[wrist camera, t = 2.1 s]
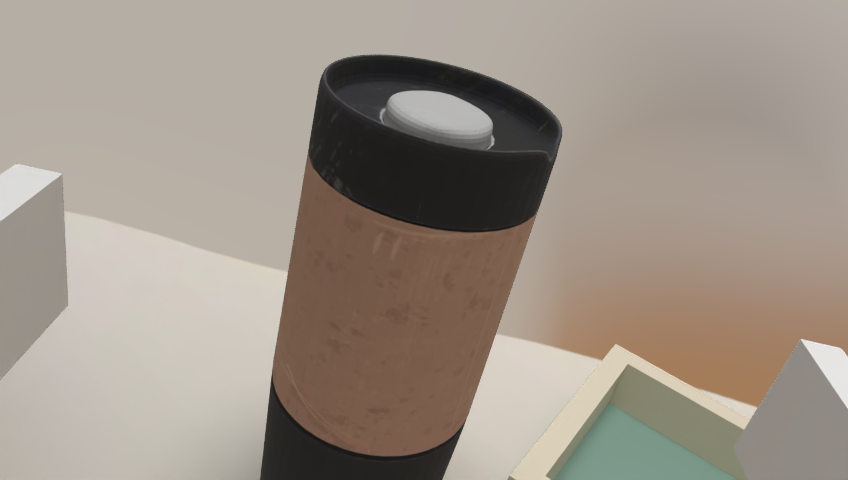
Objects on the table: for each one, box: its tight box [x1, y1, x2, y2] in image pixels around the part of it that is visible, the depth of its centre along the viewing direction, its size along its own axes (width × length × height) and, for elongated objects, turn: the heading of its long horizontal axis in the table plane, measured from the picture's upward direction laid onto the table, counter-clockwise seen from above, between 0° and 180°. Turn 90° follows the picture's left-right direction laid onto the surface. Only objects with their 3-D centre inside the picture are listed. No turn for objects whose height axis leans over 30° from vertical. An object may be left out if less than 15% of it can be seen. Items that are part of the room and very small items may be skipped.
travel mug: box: [260, 55, 562, 480], centre depth 26 cm, size 8×8×20 cm
